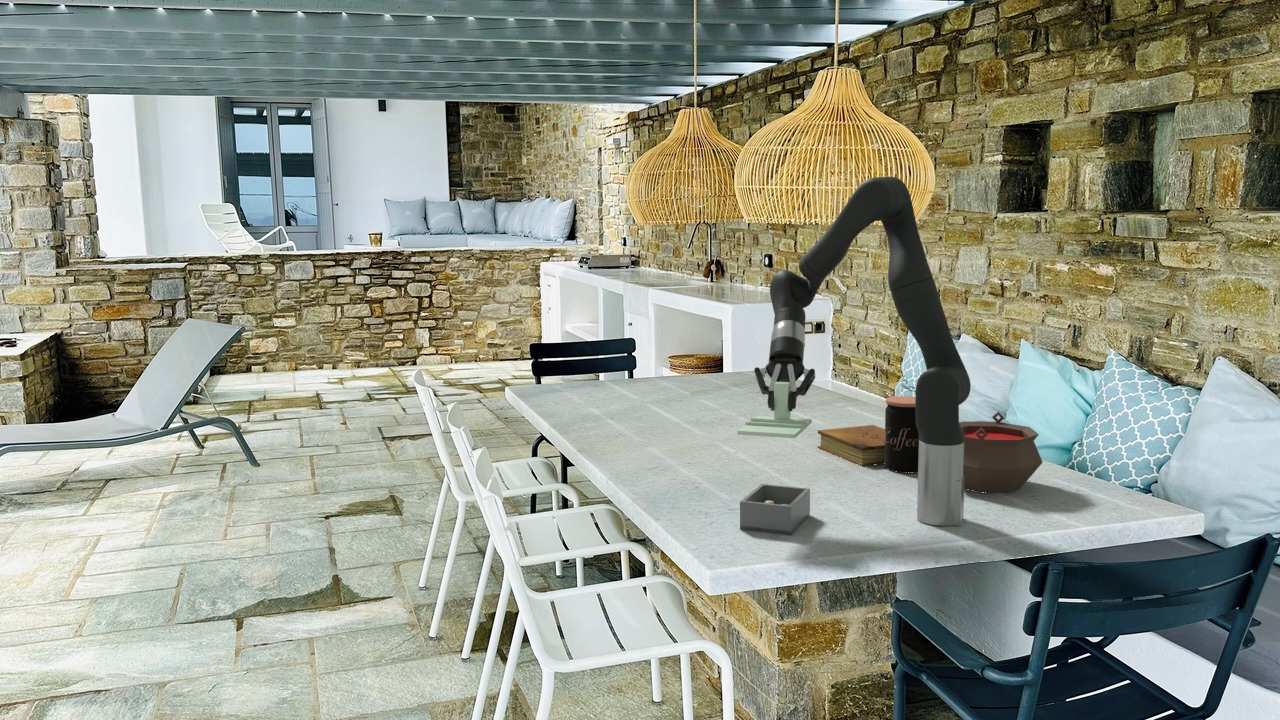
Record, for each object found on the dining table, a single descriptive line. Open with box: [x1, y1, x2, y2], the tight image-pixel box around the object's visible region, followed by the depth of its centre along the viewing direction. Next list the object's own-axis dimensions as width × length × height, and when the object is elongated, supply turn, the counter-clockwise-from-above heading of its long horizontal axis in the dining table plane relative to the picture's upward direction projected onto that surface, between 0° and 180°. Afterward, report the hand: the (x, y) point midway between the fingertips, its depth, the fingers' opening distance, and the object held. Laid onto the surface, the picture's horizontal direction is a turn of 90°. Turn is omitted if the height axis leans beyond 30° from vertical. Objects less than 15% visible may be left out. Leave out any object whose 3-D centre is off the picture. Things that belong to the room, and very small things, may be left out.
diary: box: [817, 424, 885, 467], centre depth 275 cm, size 23×19×6 cm
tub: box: [739, 483, 811, 536], centre depth 215 cm, size 11×15×6 cm
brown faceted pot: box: [959, 411, 1043, 494], centre depth 241 cm, size 24×24×16 cm
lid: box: [736, 382, 813, 439], centre depth 213 cm, size 12×16×9 cm
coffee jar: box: [884, 395, 919, 474], centre depth 258 cm, size 11×11×18 cm
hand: (781, 408), depth 216 cm, fingers closed on lid, 3 cm apart
